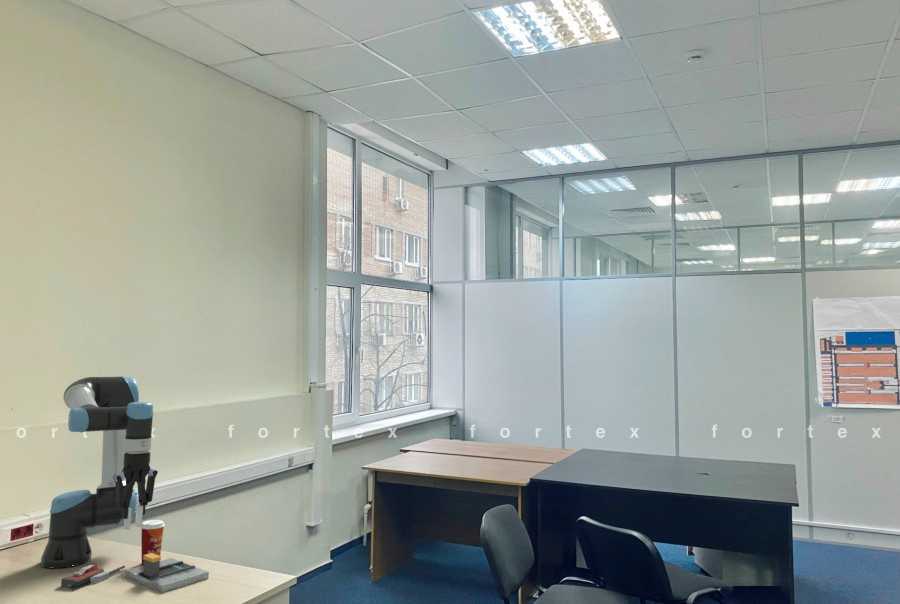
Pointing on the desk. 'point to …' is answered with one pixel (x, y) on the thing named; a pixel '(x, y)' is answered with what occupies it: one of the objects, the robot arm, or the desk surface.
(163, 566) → the console board
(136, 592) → the desk surface
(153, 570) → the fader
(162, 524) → the paper cup
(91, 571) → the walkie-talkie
